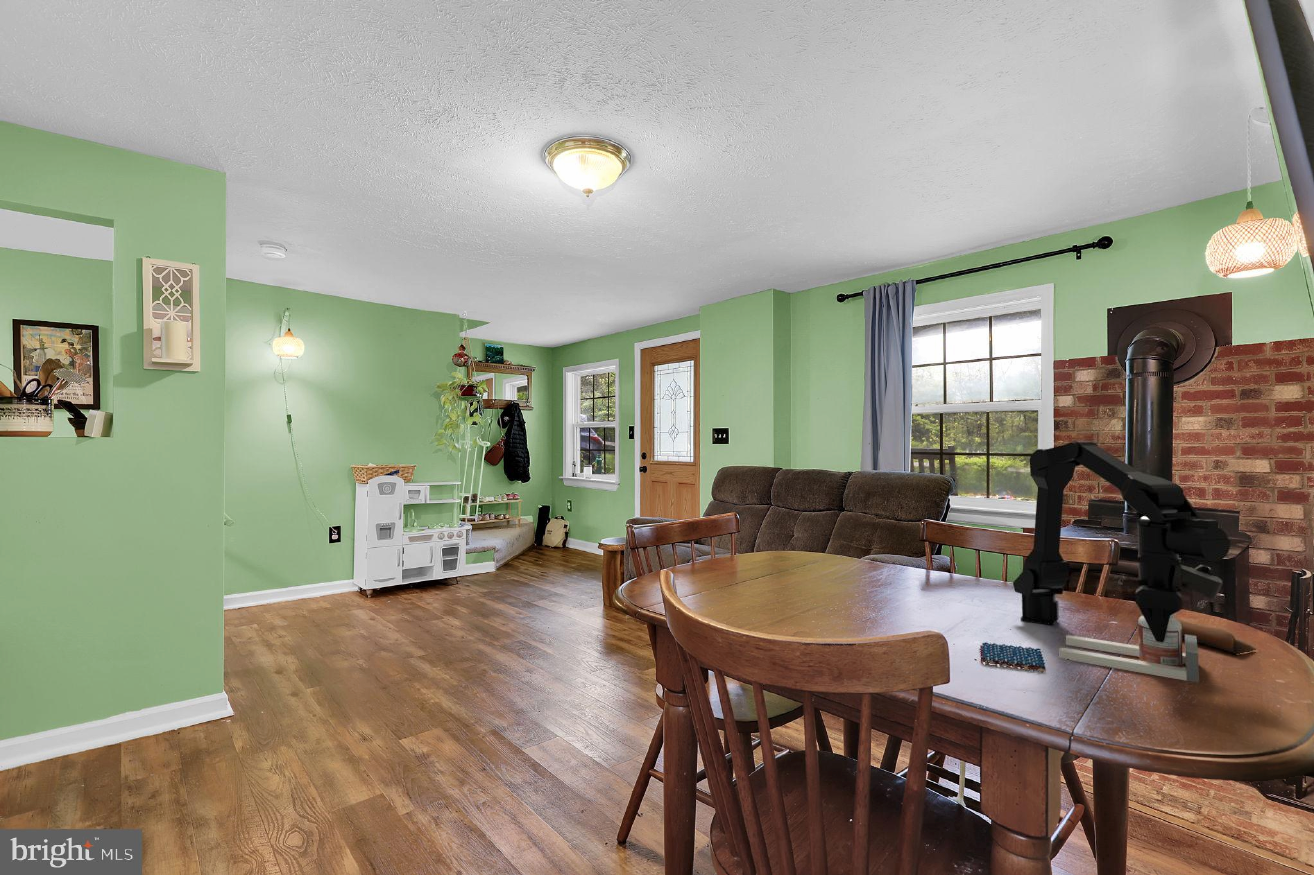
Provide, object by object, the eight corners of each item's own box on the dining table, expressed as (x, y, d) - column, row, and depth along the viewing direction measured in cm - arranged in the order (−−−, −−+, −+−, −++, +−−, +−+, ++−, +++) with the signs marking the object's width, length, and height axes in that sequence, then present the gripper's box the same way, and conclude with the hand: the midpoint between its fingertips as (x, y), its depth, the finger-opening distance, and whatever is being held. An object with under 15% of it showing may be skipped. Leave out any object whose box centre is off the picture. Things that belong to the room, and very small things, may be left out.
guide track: (1059, 658, 117) (1058, 631, 117) (1067, 642, 126) (1066, 617, 126) (1199, 682, 104) (1198, 653, 104) (1197, 663, 113) (1196, 636, 113)
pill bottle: (1150, 658, 116) (1149, 599, 116) (1190, 669, 110) (1188, 607, 110) (1131, 664, 113) (1130, 604, 113) (1171, 675, 108) (1170, 612, 108)
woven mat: (979, 650, 124) (979, 640, 124) (1041, 657, 119) (1040, 647, 119) (979, 667, 114) (979, 656, 114) (1046, 676, 109) (1046, 665, 109)
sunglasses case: (1267, 651, 118) (1253, 623, 117) (1244, 673, 116) (1230, 645, 116) (1168, 625, 135) (1155, 600, 135) (1147, 644, 134) (1135, 619, 133)
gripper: (1221, 564, 99) (1223, 660, 99) (1214, 547, 114) (1217, 631, 114) (1134, 557, 107) (1136, 646, 106) (1138, 542, 121) (1140, 621, 121)
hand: (1160, 636), depth 112 cm, fingers open, 7 cm apart
